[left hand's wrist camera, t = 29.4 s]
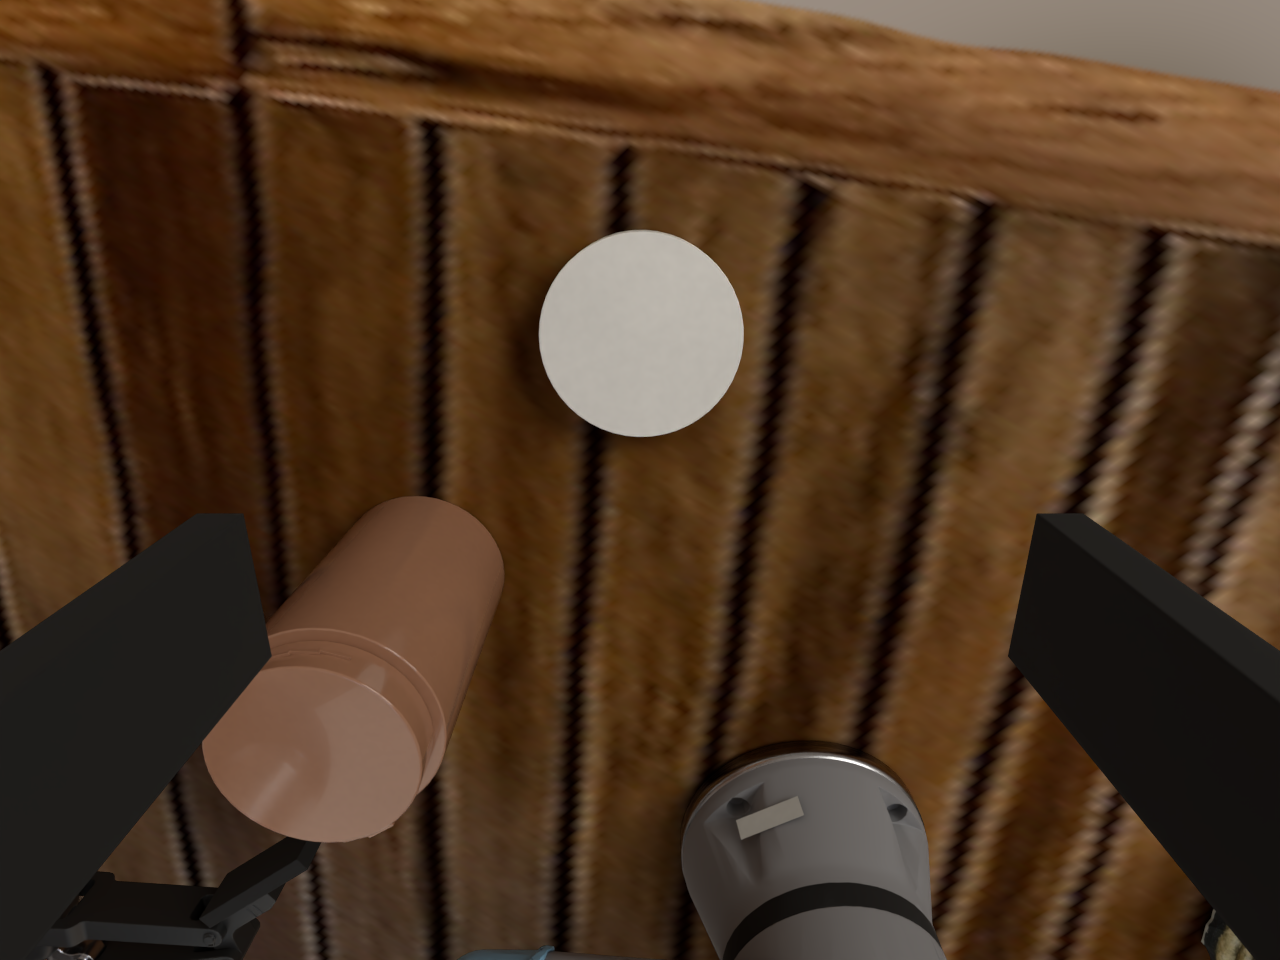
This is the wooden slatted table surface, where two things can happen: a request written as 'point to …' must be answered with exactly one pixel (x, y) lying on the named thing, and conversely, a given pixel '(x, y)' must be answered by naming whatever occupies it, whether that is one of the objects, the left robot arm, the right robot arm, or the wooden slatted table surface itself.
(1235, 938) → the fossil
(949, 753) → the wooden slatted table surface
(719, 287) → the lid
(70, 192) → the wooden slatted table surface
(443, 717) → the jar
